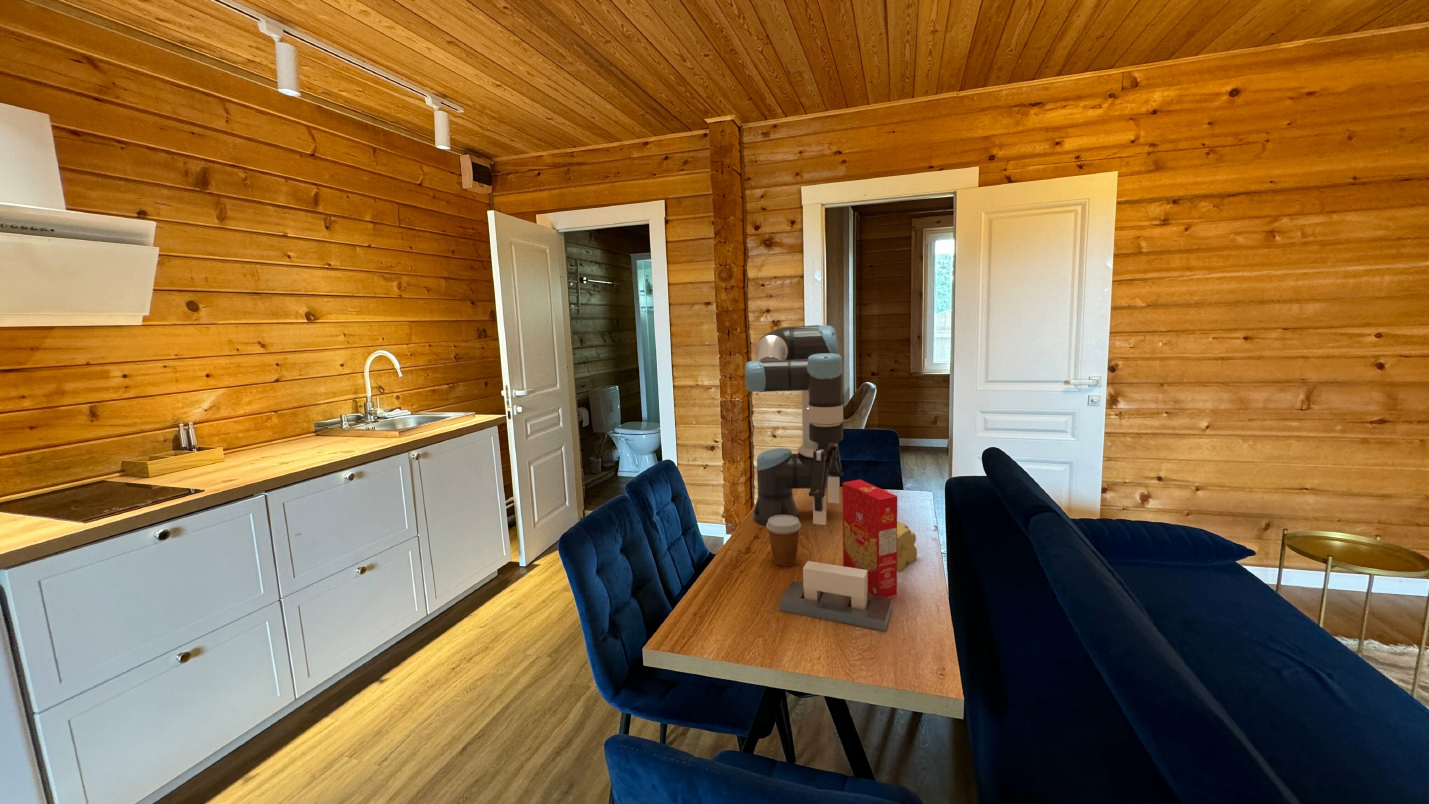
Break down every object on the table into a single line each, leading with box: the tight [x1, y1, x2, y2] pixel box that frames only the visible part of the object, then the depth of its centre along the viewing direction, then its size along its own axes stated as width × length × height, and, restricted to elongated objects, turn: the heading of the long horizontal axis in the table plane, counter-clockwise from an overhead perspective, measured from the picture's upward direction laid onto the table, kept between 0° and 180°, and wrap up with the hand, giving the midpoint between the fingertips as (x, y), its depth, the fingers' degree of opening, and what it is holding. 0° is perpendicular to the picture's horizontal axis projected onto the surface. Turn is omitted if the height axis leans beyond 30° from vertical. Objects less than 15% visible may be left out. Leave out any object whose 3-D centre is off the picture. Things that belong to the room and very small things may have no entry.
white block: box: [802, 560, 868, 611], centre depth 128 cm, size 14×4×10 cm, turn 65°
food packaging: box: [841, 479, 898, 598], centre depth 138 cm, size 15×5×25 cm, turn 21°
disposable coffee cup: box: [765, 515, 802, 567], centre depth 154 cm, size 10×10×12 cm
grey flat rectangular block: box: [778, 580, 893, 632], centre depth 129 cm, size 24×10×2 cm, turn 65°
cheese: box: [897, 520, 918, 572], centre depth 152 cm, size 10×11×10 cm
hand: (827, 512), depth 128 cm, fingers open, 13 cm apart
